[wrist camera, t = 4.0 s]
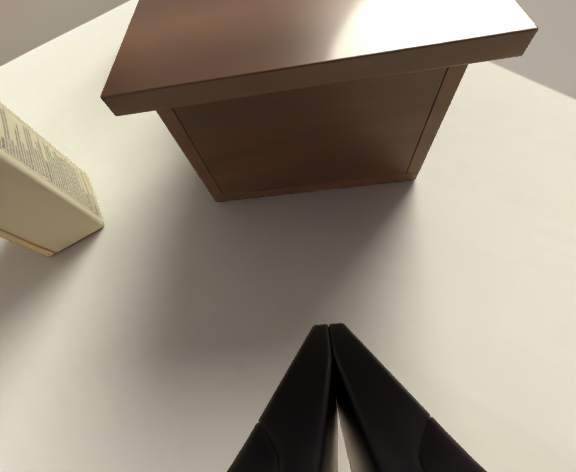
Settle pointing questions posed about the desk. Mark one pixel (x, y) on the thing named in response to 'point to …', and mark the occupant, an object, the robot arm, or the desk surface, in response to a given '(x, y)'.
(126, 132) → the desk surface
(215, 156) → the bin
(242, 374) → the desk surface
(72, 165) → the cosmetic box
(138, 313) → the desk surface
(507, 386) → the desk surface
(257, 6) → the lid
